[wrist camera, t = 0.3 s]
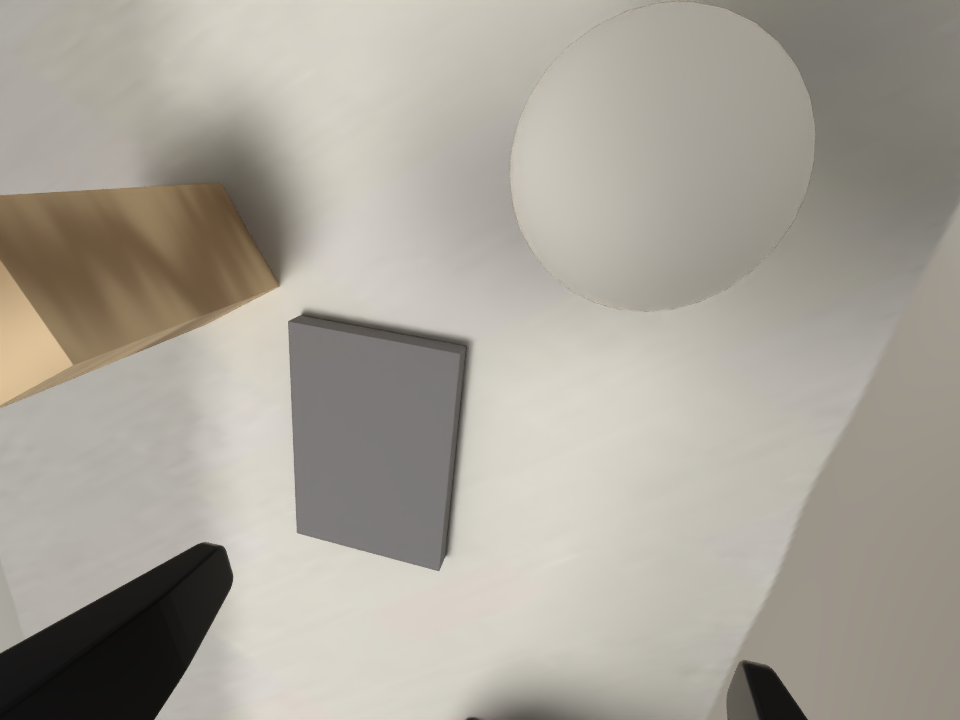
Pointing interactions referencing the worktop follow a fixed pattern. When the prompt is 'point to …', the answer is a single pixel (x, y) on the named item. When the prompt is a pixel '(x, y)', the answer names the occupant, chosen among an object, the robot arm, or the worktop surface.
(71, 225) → the oak block
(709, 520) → the worktop surface
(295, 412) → the charcoal mat
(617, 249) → the lightbulb
